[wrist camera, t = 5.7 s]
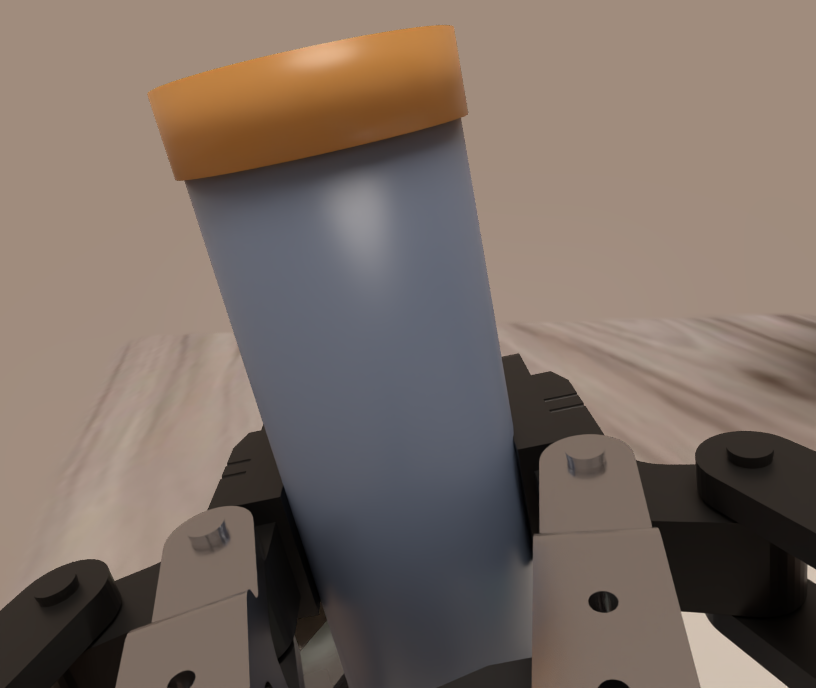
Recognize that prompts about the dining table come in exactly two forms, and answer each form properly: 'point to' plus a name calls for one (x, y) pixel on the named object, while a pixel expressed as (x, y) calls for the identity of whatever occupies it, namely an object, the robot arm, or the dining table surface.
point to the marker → (368, 339)
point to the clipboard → (725, 656)
